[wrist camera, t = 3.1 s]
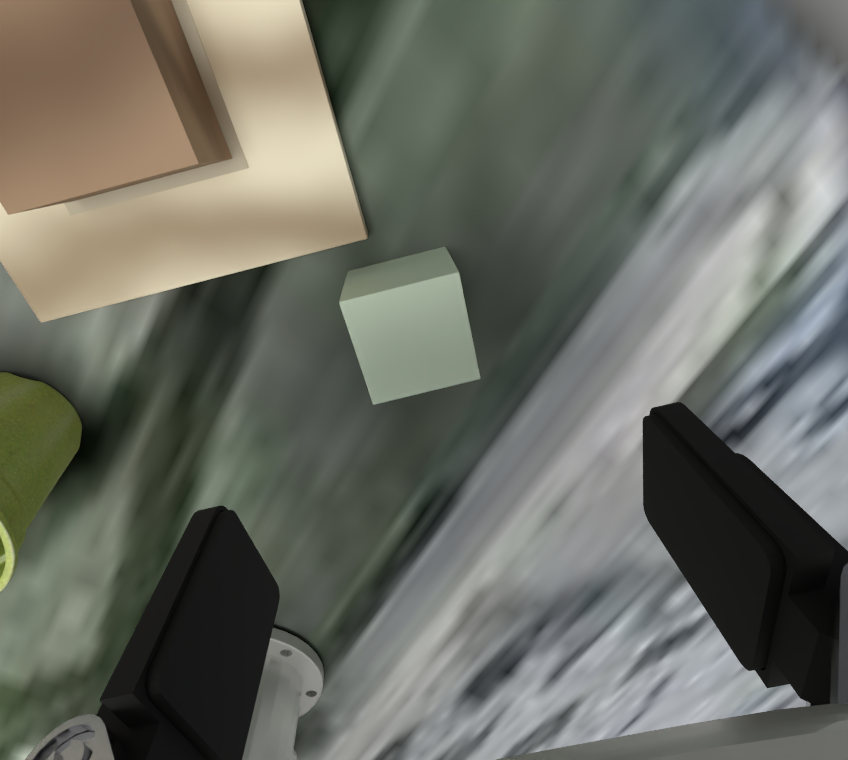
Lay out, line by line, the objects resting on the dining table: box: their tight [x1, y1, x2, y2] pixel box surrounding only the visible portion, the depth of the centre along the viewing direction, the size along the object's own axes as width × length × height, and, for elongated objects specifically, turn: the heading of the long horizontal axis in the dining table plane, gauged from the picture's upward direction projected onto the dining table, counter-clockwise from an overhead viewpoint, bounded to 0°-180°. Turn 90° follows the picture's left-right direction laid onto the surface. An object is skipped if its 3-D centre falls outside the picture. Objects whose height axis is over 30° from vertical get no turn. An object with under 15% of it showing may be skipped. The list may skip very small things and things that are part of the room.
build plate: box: [0, 0, 368, 322], centre depth 19 cm, size 16×16×1 cm
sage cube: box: [339, 247, 480, 405], centre depth 22 cm, size 5×5×5 cm
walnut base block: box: [0, 0, 232, 215], centre depth 16 cm, size 7×7×4 cm
